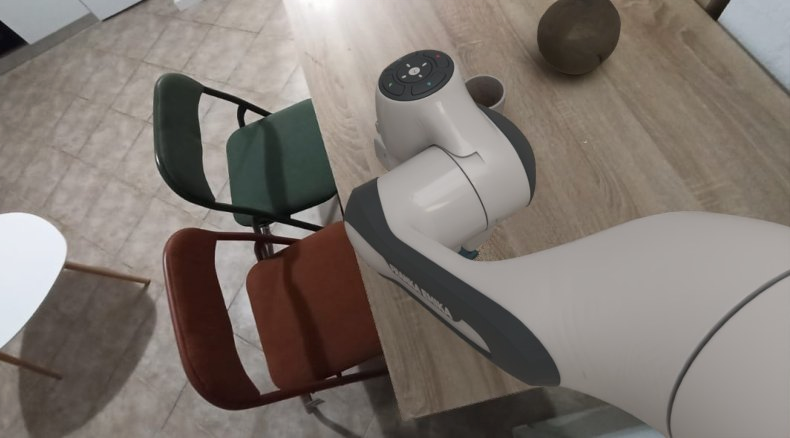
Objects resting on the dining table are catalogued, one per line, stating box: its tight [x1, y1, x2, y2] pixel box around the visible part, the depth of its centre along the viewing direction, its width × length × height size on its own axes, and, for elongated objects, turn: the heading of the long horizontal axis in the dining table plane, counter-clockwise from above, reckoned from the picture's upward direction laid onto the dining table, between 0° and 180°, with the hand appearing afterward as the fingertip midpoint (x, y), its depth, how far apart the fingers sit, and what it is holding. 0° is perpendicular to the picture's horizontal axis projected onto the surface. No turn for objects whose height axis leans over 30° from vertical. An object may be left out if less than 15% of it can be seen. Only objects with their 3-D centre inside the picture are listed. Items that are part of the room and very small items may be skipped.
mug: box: [463, 73, 507, 116], centre depth 88 cm, size 12×9×10 cm
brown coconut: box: [536, 0, 622, 75], centre depth 85 cm, size 14×14×15 cm
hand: (431, 210), depth 66 cm, fingers open, 8 cm apart
